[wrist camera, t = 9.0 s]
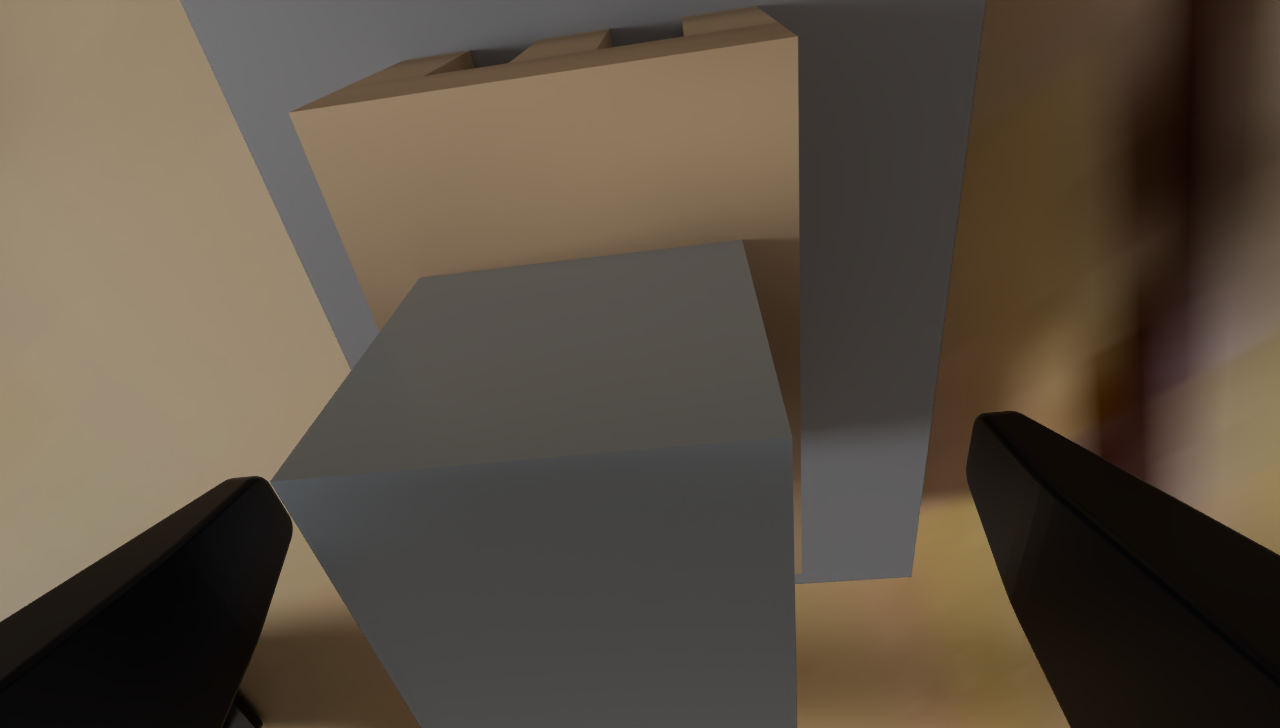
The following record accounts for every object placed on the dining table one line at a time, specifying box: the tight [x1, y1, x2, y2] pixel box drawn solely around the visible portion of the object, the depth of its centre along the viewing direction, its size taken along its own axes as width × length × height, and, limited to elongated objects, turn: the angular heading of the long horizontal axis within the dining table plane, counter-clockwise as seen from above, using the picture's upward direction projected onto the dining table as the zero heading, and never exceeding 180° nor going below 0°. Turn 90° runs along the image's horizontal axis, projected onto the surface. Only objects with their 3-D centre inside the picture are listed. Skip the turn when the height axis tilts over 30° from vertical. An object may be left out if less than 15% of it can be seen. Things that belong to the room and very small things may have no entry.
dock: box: [180, 0, 986, 584], centre depth 14 cm, size 20×13×3 cm, turn 8°
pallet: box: [289, 6, 802, 574], centre depth 11 cm, size 9×6×4 cm, turn 8°
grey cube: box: [270, 240, 797, 728], centre depth 8 cm, size 4×4×4 cm
